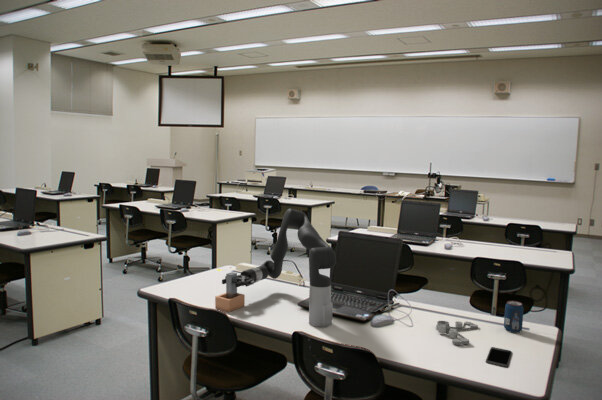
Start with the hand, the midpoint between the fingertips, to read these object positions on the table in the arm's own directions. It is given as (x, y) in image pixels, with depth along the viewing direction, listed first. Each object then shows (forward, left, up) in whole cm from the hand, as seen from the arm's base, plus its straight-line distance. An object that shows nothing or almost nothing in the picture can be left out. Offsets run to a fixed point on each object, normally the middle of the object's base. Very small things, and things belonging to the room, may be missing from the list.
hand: (229, 283), depth 203 cm
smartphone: (-115, -20, -12) cm, 117 cm away
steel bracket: (0, -2, -10) cm, 11 cm away
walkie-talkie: (-59, -43, -12) cm, 74 cm away
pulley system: (-95, -34, -12) cm, 102 cm away
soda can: (-115, -51, -12) cm, 126 cm away
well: (0, -1, -11) cm, 12 cm away
